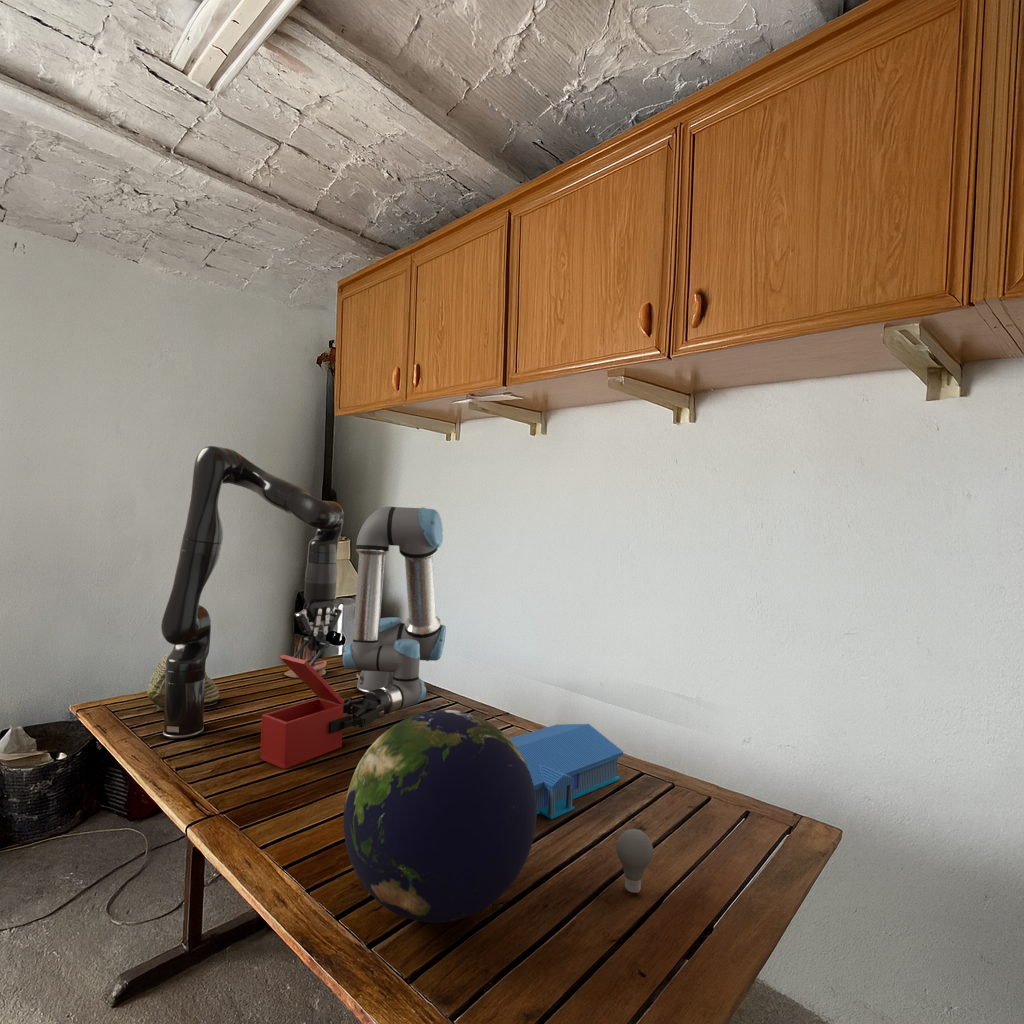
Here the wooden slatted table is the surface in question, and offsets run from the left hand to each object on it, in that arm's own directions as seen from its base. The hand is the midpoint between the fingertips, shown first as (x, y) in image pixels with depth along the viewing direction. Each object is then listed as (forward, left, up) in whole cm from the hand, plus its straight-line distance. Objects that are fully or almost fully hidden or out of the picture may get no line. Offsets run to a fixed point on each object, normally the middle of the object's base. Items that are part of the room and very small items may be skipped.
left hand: (316, 649), depth 158 cm
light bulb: (+87, +15, -25) cm, 91 cm away
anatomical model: (-62, +27, -25) cm, 72 cm away
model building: (+50, +28, -25) cm, 63 cm away
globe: (+69, -13, -25) cm, 74 cm away
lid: (0, -1, -8) cm, 8 cm away
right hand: (0, +1, -19) cm, 19 cm away
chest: (+1, -3, -25) cm, 25 cm away
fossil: (-51, -15, -25) cm, 59 cm away
